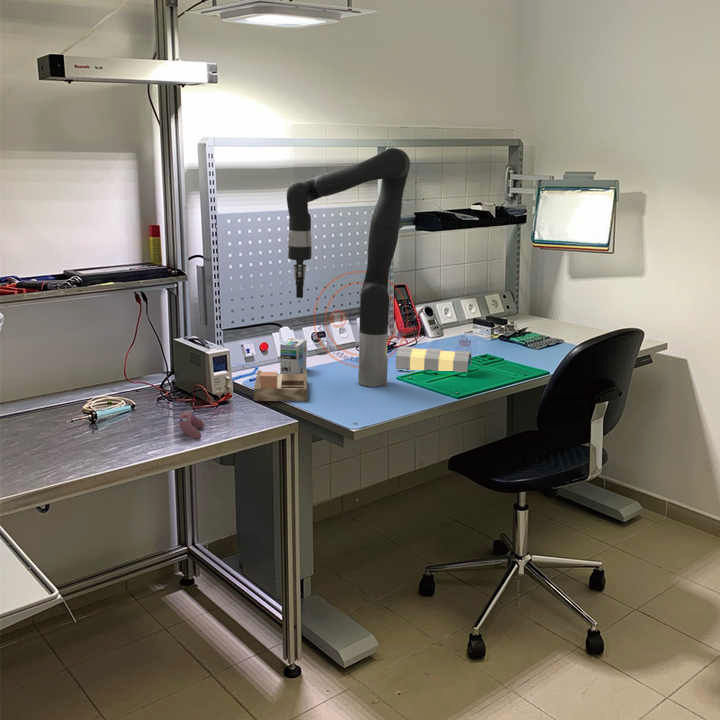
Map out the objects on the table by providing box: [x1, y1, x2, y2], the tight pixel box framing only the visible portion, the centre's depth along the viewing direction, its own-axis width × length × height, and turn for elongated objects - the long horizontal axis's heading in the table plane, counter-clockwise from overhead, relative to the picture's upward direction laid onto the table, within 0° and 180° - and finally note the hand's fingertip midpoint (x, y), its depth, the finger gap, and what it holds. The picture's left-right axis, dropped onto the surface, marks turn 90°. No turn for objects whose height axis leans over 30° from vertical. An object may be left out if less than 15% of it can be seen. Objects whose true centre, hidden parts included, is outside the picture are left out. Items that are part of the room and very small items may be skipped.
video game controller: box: [178, 410, 205, 440], centre depth 214 cm, size 10×5×7 cm, turn 5°
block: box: [260, 371, 278, 388], centre depth 247 cm, size 5×5×5 cm
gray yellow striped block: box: [395, 334, 473, 373], centre depth 283 cm, size 25×10×13 cm, turn 76°
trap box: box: [253, 370, 308, 402], centre depth 255 cm, size 16×22×4 cm
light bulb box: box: [279, 338, 308, 374], centre depth 277 cm, size 11×7×11 cm, turn 168°
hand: (299, 297), depth 266 cm, fingers closed
